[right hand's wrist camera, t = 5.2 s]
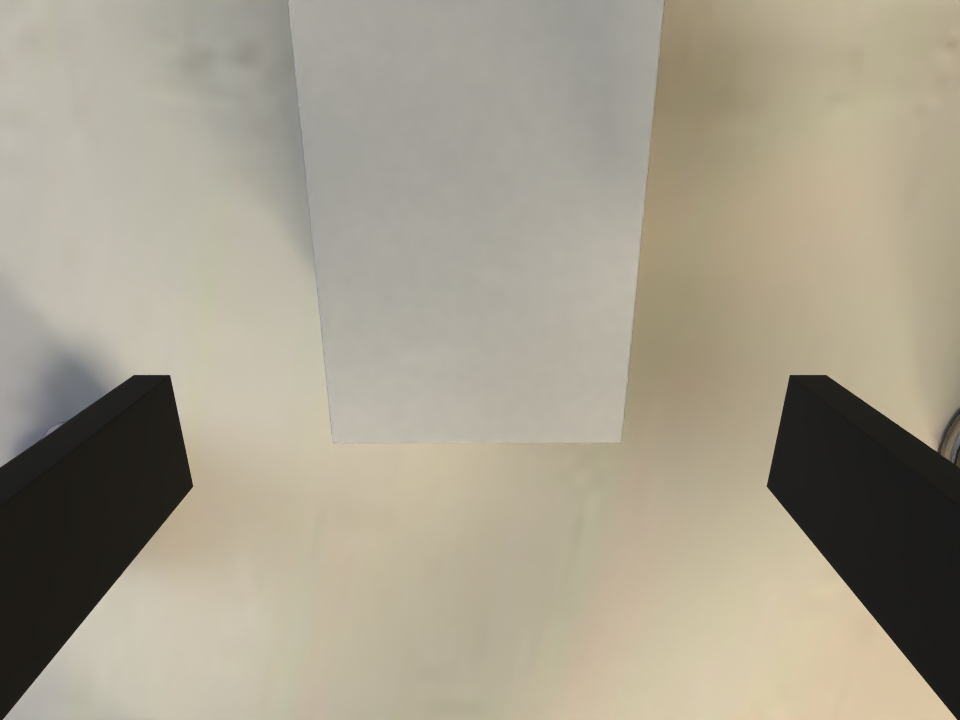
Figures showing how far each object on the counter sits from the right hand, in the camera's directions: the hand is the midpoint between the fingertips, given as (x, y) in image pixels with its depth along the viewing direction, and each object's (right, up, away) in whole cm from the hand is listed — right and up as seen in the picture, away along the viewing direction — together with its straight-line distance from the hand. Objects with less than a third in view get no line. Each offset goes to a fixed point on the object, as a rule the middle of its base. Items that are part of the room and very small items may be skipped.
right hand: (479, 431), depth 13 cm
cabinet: (0, +10, +15) cm, 18 cm away
